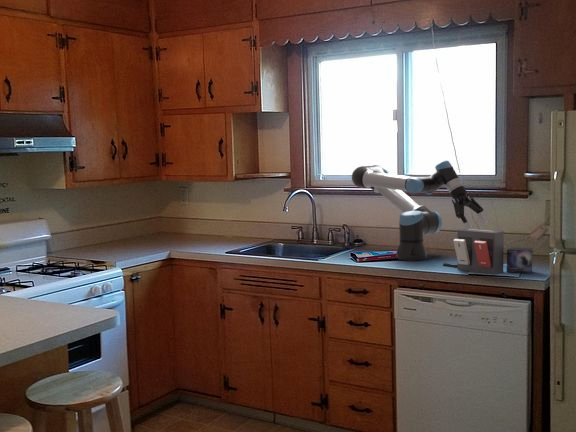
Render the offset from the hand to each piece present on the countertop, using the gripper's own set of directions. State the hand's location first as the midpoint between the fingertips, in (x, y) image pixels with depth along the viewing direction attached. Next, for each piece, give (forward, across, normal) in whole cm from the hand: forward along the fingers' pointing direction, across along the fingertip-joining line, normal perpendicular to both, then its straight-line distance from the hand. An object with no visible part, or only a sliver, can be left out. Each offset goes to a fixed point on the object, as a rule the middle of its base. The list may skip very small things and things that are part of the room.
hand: (478, 226), depth 312 cm
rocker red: (+21, -25, -9) cm, 34 cm away
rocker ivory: (+16, -26, -1) cm, 30 cm away
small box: (+30, -12, -14) cm, 35 cm away
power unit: (+18, -21, +2) cm, 28 cm away
